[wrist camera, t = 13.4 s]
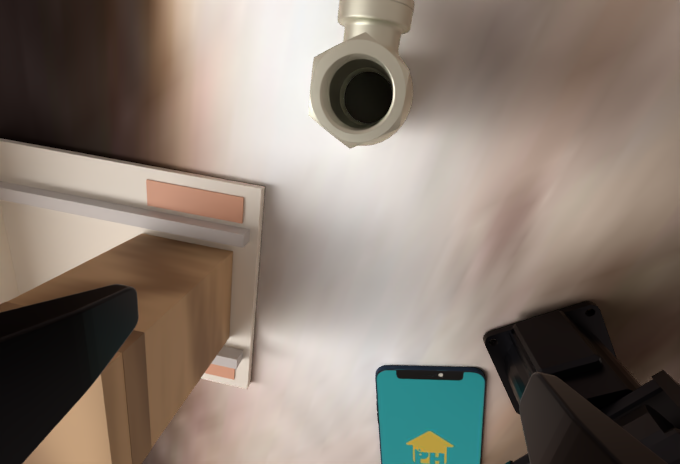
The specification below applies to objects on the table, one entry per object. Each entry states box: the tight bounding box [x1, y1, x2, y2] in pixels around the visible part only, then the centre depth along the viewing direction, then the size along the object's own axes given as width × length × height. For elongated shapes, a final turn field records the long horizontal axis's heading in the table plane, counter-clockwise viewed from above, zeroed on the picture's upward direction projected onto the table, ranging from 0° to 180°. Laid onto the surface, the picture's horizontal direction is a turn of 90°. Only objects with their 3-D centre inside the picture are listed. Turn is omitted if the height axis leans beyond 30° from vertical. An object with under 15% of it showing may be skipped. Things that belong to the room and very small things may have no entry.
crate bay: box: [0, 138, 265, 389], centre depth 21 cm, size 18×15×7 cm
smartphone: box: [375, 365, 486, 464], centre depth 26 cm, size 7×1×15 cm
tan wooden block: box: [0, 233, 233, 464], centre depth 18 cm, size 6×6×10 cm
